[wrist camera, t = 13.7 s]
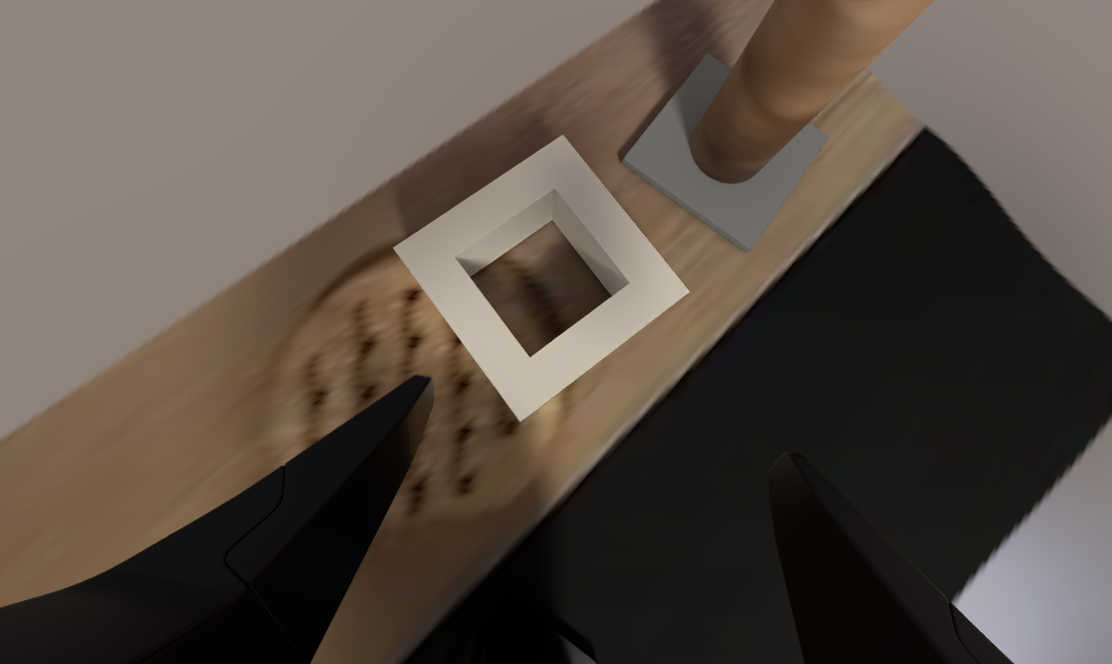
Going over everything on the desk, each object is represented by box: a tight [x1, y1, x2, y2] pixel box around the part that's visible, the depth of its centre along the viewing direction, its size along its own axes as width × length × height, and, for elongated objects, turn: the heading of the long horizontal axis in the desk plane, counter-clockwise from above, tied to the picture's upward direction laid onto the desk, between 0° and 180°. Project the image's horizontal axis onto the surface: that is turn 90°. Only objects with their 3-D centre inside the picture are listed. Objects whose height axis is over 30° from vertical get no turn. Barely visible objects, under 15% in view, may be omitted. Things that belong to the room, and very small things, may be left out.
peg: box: [691, 0, 934, 184], centre depth 19 cm, size 5×5×13 cm
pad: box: [622, 53, 829, 253], centre depth 26 cm, size 10×10×1 cm
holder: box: [393, 135, 689, 422], centre depth 22 cm, size 11×11×4 cm
